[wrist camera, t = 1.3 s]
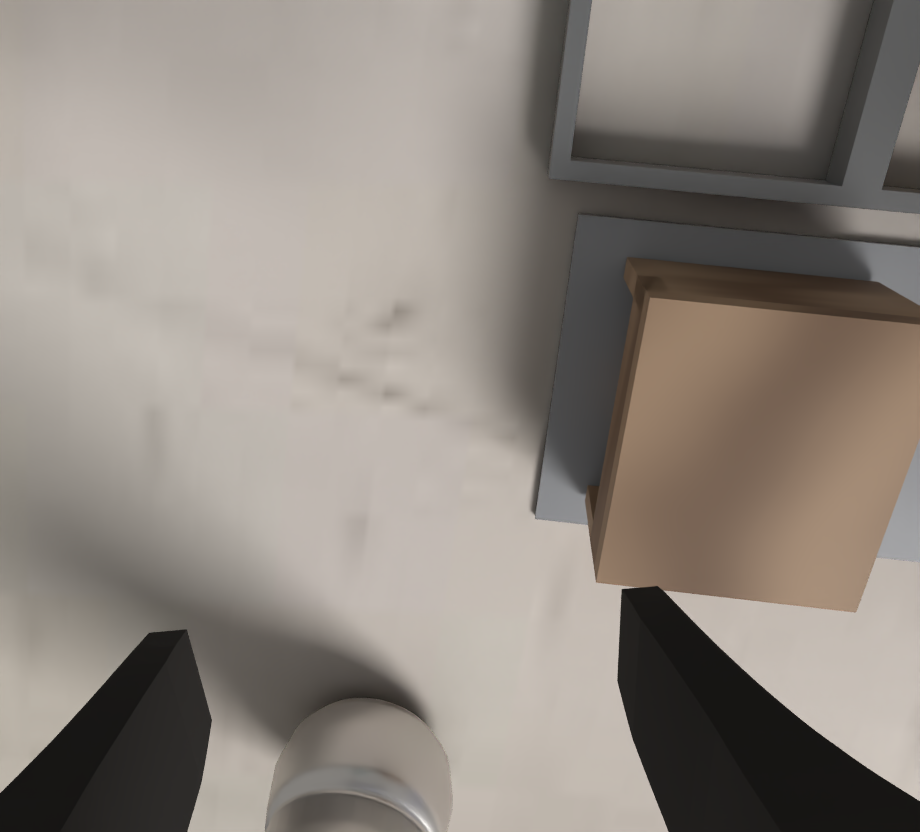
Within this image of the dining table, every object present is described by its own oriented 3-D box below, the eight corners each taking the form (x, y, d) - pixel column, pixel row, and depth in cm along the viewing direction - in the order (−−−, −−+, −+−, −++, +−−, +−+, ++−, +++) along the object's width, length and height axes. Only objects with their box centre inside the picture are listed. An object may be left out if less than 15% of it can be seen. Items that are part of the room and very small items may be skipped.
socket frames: (1295, -126, 17) (1348, -140, 16) (1138, 229, 21) (1173, 238, 19) (591, -180, 18) (595, -197, 17) (547, 173, 21) (548, 178, 20)
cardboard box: (878, 281, 21) (960, 328, 17) (802, 525, 25) (856, 612, 21) (627, 256, 22) (650, 297, 18) (584, 501, 25) (596, 582, 21)
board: (1159, 270, 21) (1220, 288, 19) (1020, 570, 25) (1059, 609, 23) (578, 213, 22) (583, 225, 20) (535, 515, 26) (535, 549, 24)
